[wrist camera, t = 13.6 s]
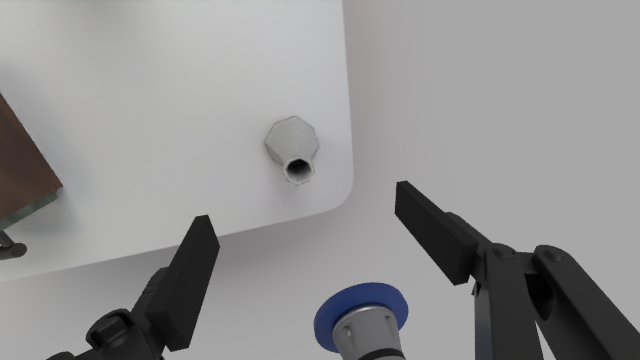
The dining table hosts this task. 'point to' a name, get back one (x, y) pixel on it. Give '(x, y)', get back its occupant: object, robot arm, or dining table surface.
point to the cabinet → (20, 166)
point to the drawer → (8, 246)
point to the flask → (293, 149)
